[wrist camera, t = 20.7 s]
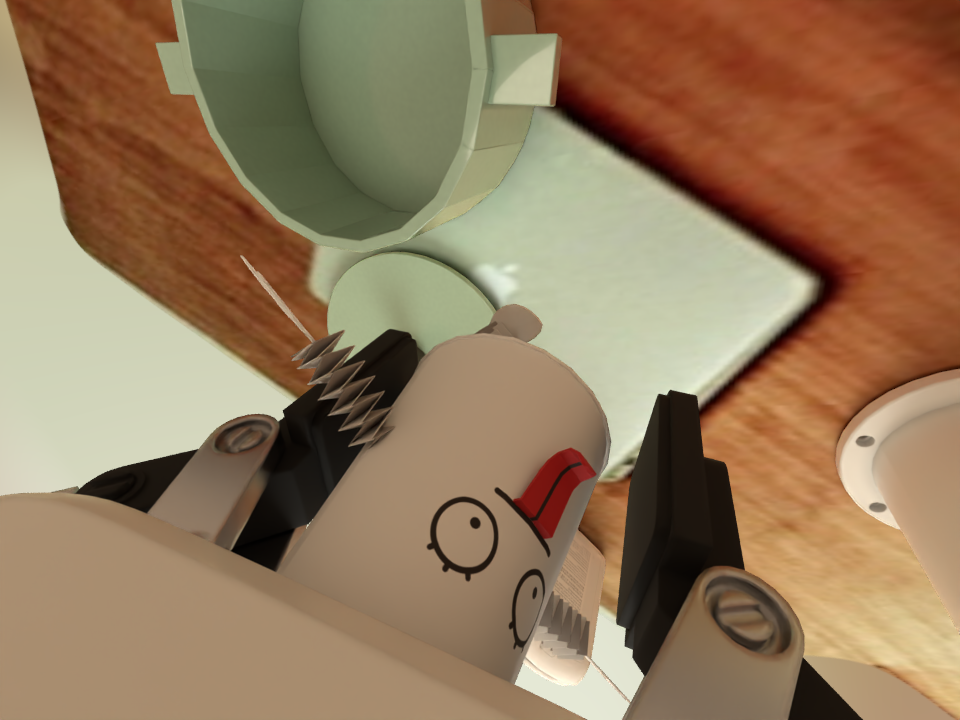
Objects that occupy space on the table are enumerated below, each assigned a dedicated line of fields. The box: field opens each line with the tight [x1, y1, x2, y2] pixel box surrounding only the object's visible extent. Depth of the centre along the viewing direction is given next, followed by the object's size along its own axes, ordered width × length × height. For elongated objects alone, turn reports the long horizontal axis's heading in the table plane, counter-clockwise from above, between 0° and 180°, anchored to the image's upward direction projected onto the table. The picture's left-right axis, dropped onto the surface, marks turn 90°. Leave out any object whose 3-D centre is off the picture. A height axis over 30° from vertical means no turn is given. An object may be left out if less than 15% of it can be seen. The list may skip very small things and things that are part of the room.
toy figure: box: [240, 256, 631, 703], centre depth 8 cm, size 12×6×8 cm, turn 40°
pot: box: [156, 0, 562, 253], centre depth 23 cm, size 17×23×8 cm
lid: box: [327, 252, 497, 364], centre depth 34 cm, size 18×18×6 cm
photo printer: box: [523, 529, 606, 686], centre depth 36 cm, size 10×4×12 cm, turn 51°
